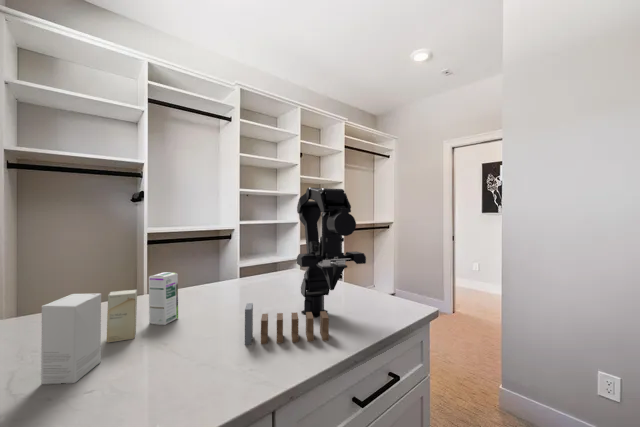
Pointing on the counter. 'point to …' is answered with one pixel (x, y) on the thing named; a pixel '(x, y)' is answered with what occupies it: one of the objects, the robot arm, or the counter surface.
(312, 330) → the domino
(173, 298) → the syrup box
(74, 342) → the skincare box
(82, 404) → the counter surface
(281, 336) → the domino
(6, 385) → the counter surface
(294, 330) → the domino
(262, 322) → the domino
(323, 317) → the domino
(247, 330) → the grey domino
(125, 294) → the skincare box
